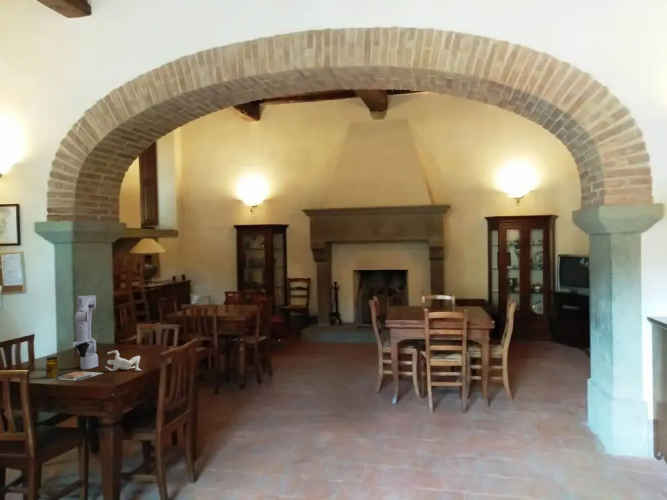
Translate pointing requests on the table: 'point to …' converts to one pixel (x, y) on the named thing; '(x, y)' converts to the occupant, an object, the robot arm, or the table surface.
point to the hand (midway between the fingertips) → (82, 357)
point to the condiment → (52, 367)
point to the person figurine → (122, 362)
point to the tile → (74, 375)
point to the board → (86, 375)
